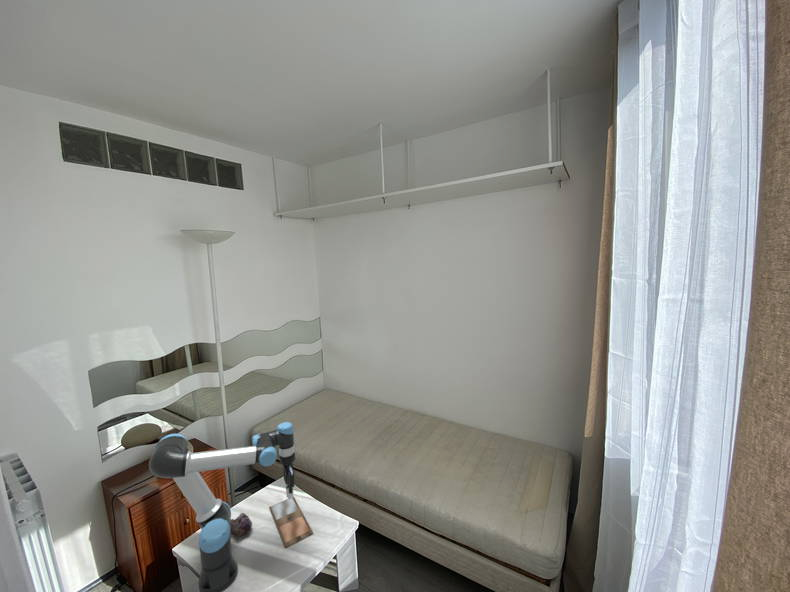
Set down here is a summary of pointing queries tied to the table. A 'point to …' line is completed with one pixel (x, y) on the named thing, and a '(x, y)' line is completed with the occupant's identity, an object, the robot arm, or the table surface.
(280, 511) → the board
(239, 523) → the rock
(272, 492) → the table surface
